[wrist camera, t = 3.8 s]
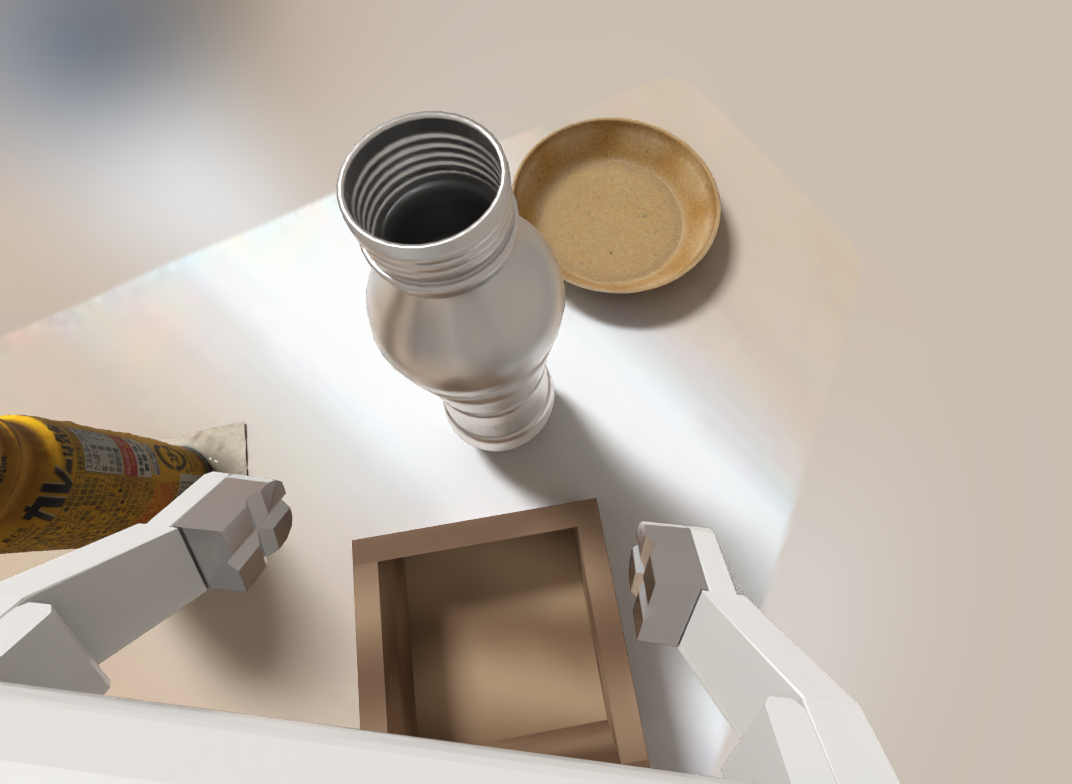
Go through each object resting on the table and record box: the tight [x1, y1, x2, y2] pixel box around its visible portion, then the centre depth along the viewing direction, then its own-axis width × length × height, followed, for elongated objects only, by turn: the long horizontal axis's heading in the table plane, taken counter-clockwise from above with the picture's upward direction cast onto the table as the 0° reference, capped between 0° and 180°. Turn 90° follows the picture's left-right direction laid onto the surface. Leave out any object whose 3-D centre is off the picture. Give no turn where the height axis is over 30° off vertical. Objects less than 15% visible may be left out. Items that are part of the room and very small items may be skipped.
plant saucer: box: [512, 118, 721, 294], centre depth 31 cm, size 15×15×3 cm
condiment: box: [0, 415, 247, 554], centre depth 21 cm, size 7×8×12 cm
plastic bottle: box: [337, 111, 565, 451], centre depth 19 cm, size 6×7×20 cm
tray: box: [352, 498, 650, 768], centre depth 22 cm, size 12×12×5 cm
